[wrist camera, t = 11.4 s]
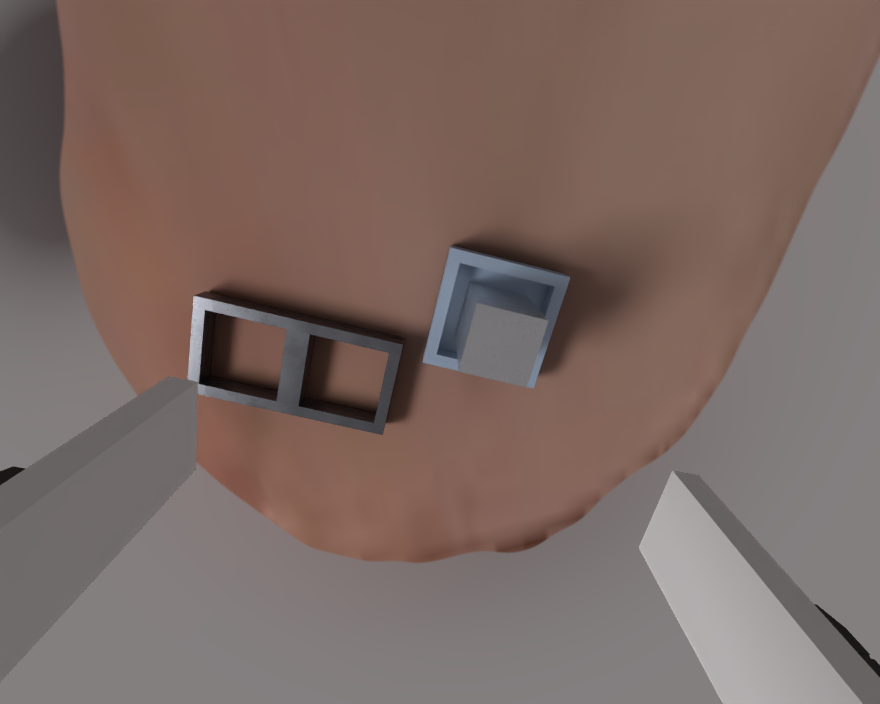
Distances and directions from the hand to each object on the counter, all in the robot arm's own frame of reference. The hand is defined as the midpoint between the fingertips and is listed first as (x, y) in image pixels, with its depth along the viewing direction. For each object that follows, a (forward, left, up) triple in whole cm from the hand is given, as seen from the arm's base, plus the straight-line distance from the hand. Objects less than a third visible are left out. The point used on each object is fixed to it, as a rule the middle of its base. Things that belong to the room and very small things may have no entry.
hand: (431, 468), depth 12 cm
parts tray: (+1, +5, -28) cm, 29 cm away
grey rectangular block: (+1, +5, -28) cm, 28 cm away
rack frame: (+10, -11, -28) cm, 32 cm away
